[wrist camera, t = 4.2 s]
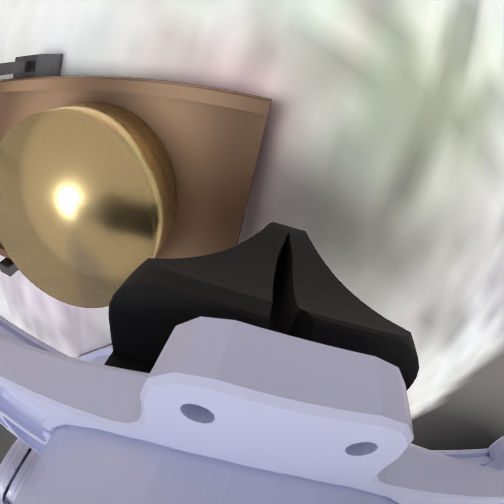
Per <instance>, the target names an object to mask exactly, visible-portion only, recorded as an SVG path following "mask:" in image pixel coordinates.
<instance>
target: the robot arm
mask: <svg viewBox="0 0 504 504" xmlns="http://www.w3.org/2000/svg"><path fill="white" fill-rule="evenodd" d="M109 323H110V332H111V340H112V345H109V346H107V347H104V348H101V349H98V350H96V351H93V352H90V353H87V354H85V355H82V356H79V357H77V359H76V358H72V357H69V356H67V355H65V354H63V353H61V352H60V351H58V350H56V349H54V348H52V347H51V346H49V345H47V344H45V343H43V342H42V341H40V340H38V339H37V338H35V337H33V336H32V335H30V334H28V333H27V332H25V331H23V330H22V329H20V328H18V327H17V326H15V325H14V324H12V323H11V322H9V321H8V320H6V319H5V318H3V317H2V316H0V423H1V424H2V425H3V426H4V427H5V428H7V429H8V430H9V431H10V432H11V433H13V434H14V435H15V436H16V437H17V438H18V439H17V440H16V441H15V443H14V444H13V445H12V447H11V448H10V450H9V451H8V453H7V454H6V456H5V458H4V459H3V461H2V463H1V464H0V504H504V436H503V437H501V438H500V439H498V440H497V441H496V442H494V443H493V444H492V445H491V446H490V447H489V448H488V449H475V450H446V451H445V450H443V451H442V450H440V451H438V450H435V451H433V450H428V449H425V448H422V447H419V446H416V445H414V444H411V442H412V440H413V438H414V437H413V429H412V422H411V415H410V409H409V402H408V397H407V390H408V389H409V388H410V386H411V385H412V383H413V382H414V380H415V379H416V377H417V373H418V370H419V362H418V356H417V352H416V349H415V345H414V342H413V338H412V335H411V332H409V331H407V330H405V329H403V328H402V327H400V326H398V325H396V324H395V323H393V322H391V321H389V320H387V319H386V318H384V317H383V316H381V315H380V314H378V313H377V312H375V311H374V310H372V309H371V308H370V307H368V306H367V305H366V304H364V303H363V302H362V301H361V300H359V299H358V298H357V297H356V296H355V295H354V294H352V293H351V292H350V291H349V290H348V289H347V288H346V287H345V286H344V285H343V284H342V283H341V282H340V281H339V280H338V279H337V278H336V277H335V275H334V274H333V273H332V272H331V271H330V269H329V268H328V267H327V265H326V264H325V263H324V261H323V260H322V258H321V257H320V255H319V254H318V252H317V251H316V249H315V247H314V246H313V244H312V242H311V241H310V239H309V237H308V235H307V234H306V232H305V231H302V230H299V229H295V228H292V227H288V226H285V225H282V224H278V223H275V222H272V223H270V224H268V225H267V226H266V227H265V228H264V229H263V230H261V231H260V232H259V233H257V234H256V235H254V236H253V237H251V238H250V239H248V240H246V241H244V242H242V243H241V244H239V245H237V246H235V247H232V248H229V249H227V250H224V251H220V252H216V253H212V254H208V255H204V256H197V257H189V258H175V259H168V258H148V259H147V260H145V261H144V262H143V263H142V264H141V265H140V266H139V267H137V268H136V269H135V270H134V271H133V273H132V274H131V275H130V276H129V277H128V278H127V279H126V280H125V281H124V283H123V284H122V285H121V286H120V287H119V288H118V289H117V291H116V292H115V293H114V294H113V296H112V299H111V301H110V303H109Z"/></svg>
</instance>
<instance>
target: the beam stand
mask: <svg viewBox="0 0 504 504" xmlns="http://www.w3.org/2000/svg"><path fill="white" fill-rule="evenodd" d="M62 55H63V54H39V55H30V56H22V57H16V59H15V62H10V63H1V64H0V75H7V74H14V75H13V79H15V78H28V77H46V76H59V75H60V68H61V61H62ZM0 270H1V272H3V273H5V274H7V275H8V276H12V275H13V274H14V273H15V272H16V271H18V270H19V269H18V268H17V266H16V265H15V264H14V262H13V261H12V260H11V259H10V258H7V257H6V258H5V259H3V260H2V261H1V262H0Z"/></svg>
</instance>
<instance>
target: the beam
mask: <svg viewBox="0 0 504 504" xmlns="http://www.w3.org/2000/svg"><path fill="white" fill-rule="evenodd" d="M271 100H272V99H268V98H264V97H260V96H255V95H250V94H245V93H240V92H235V91H230V90H225V89H219V88H213V87H207V86H201V85H194V84H187V83H179V82H171V81H162V80H152V79H141V78H127V77H108V76H46V77H28V78H15V79H5V80H0V142H1V140H2V139H3V137H4V136H5V135H6V133H7V132H8V131H9V130H10V129H11V128H12V127H13V126H14V125H15V124H17V123H18V122H19V121H21V120H22V119H24V118H26V117H28V116H30V115H33V114H36V113H39V112H43V111H47V110H51V109H55V108H59V107H63V106H68V105H72V104H77V103H82V102H88V101H101V102H107V103H112V104H115V105H118V106H121V107H123V108H125V109H127V110H129V111H131V112H132V113H134V114H135V115H137V116H138V117H139V118H141V119H142V120H143V121H144V122H145V123H146V124H147V125H148V126H149V127H150V128H151V129H152V130H153V131H154V133H155V134H156V135H157V136H158V137H159V139H160V141H161V142H162V144H163V145H164V147H165V149H166V151H167V153H168V155H169V157H170V160H171V162H172V166H173V169H174V172H175V176H176V182H177V190H178V205H177V213H176V218H175V222H174V225H173V228H172V231H171V233H170V235H169V237H168V239H167V240H166V242H165V244H164V245H163V247H162V248H161V250H160V252H159V253H158V255H157V257H156V258H168V259H175V258H189V257H197V256H204V255H208V254H212V253H216V252H220V251H224V250H227V249H229V248H232V247H235V246H237V243H238V239H239V234H240V230H241V226H242V221H243V217H244V213H245V208H246V204H247V200H248V196H249V191H250V187H251V183H252V179H253V174H254V170H255V166H256V162H257V158H258V153H259V149H260V145H261V141H262V137H263V133H264V129H265V125H266V120H267V116H268V112H269V108H270V104H271ZM0 255H2V256H4V257H7V258H10V257H9V255H8V254H7V252H6V250H5V248H4V247H3V245H2V243H1V241H0ZM10 259H11V258H10Z"/></svg>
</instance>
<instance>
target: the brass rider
mask: <svg viewBox="0 0 504 504" xmlns="http://www.w3.org/2000/svg"><path fill="white" fill-rule="evenodd" d="M177 205H178V190H177V182H176V176H175V172H174V169H173V166H172V162H171V160H170V157H169V155H168V153H167V151H166V149H165V147H164V145H163V144H162V142H161V141H160V139H159V137H158V136H157V135H156V134H155V133H154V131H153V130H152V129H151V128H150V127H149V126H148V125H147V124H146V123H145V122H144V121H143V120H142V119H141V118H139V117H138V116H137V115H135V114H134V113H132V112H131V111H129V110H127V109H125V108H123V107H121V106H118V105H115V104H112V103H107V102H101V101H88V102H82V103H77V104H72V105H68V106H63V107H59V108H55V109H51V110H47V111H43V112H39V113H36V114H33V115H30V116H28V117H26V118H24V119H22V120H21V121H19V122H18V123H17V124H15V125H14V126H13V127H12V128H11V129H10V130H9V131H8V132H7V133H6V135H5V136H4V137H3V139H2V140H1V142H0V241H1V243H2V245H3V247H4V248H5V250H6V252H7V254H8V255H9V257H10V258H11V260H12V261H13V262H14V264H15V265H16V266H17V268H18V269H19V270H20V271H21V272H22V274H23V275H24V276H25V277H26V278H27V279H28V280H30V281H31V282H32V283H33V284H34V285H35V286H37V287H38V288H39V289H40V290H42V291H43V292H45V293H46V294H48V295H50V296H52V297H53V298H55V299H57V300H60V301H62V302H64V303H67V304H70V305H74V306H78V307H84V308H100V307H106V306H109V303H110V301H111V299H112V296H113V294H114V293H115V292H116V291H117V289H118V288H119V287H120V286H121V285H122V284H123V283H124V281H125V280H126V279H127V278H128V277H129V276H130V275H131V274H132V273H133V271H134V270H135V269H136V268H137V267H139V266H140V265H141V264H142V263H143V262H144V261H145V260H147V259H148V258H156V257H157V255H158V253H159V252H160V250H161V248H162V247H163V245H164V244H165V242H166V240H167V239H168V237H169V235H170V233H171V231H172V228H173V225H174V222H175V218H176V213H177Z"/></svg>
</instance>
